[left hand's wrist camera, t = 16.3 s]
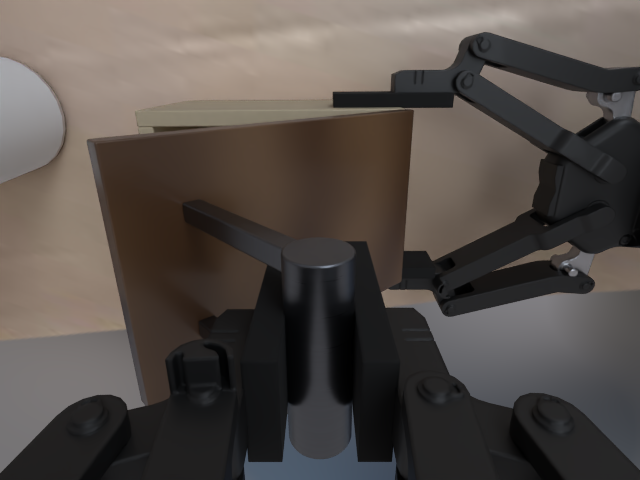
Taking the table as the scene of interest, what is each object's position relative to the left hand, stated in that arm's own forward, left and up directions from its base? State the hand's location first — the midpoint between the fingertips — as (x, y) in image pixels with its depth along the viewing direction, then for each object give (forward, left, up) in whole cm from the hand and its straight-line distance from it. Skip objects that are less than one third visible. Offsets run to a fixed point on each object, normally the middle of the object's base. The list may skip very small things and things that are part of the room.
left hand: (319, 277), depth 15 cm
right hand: (+1, 0, -12) cm, 12 cm away
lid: (-1, 0, -4) cm, 4 cm away
